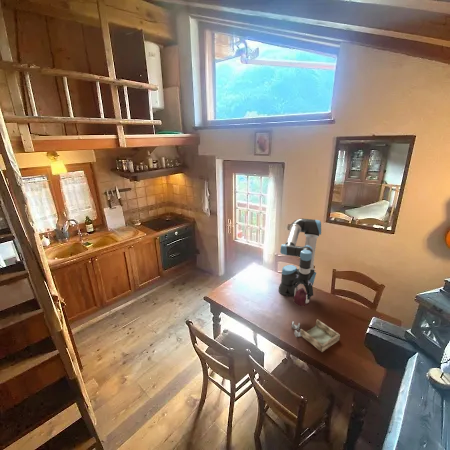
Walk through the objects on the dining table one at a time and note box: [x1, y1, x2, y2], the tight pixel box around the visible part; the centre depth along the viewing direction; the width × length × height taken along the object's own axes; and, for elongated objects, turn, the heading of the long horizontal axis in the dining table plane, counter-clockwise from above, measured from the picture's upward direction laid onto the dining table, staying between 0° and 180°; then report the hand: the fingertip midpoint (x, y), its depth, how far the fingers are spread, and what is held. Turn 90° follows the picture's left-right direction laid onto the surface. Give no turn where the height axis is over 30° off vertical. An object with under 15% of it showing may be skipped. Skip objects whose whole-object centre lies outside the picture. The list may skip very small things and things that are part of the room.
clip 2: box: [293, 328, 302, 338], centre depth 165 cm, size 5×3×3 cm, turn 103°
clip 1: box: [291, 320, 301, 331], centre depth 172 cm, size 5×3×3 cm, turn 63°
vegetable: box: [293, 287, 310, 307], centre depth 175 cm, size 10×10×15 cm
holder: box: [299, 318, 341, 353], centre depth 163 cm, size 17×17×4 cm
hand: (301, 298), depth 178 cm, fingers closed on vegetable, 9 cm apart
